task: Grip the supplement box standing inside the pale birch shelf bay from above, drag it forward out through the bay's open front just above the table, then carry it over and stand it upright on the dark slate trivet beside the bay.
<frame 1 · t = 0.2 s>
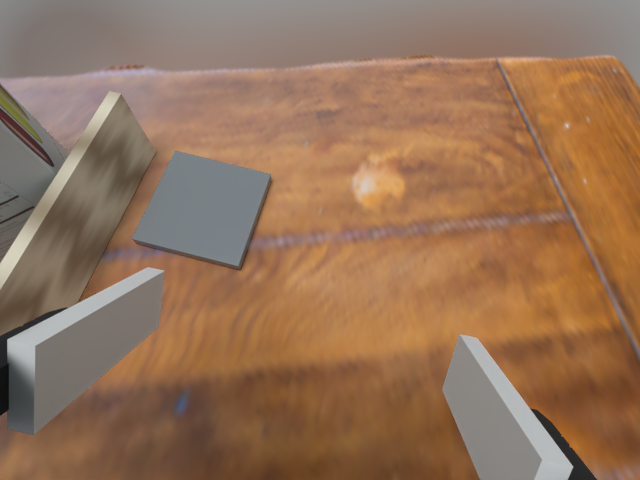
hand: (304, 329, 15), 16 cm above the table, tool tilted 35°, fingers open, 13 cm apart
slate trivet: (207, 210, 35), on the table
supplement box: (43, 209, 34), resting in shelf bay
shelf bay: (26, 231, 33), on the table
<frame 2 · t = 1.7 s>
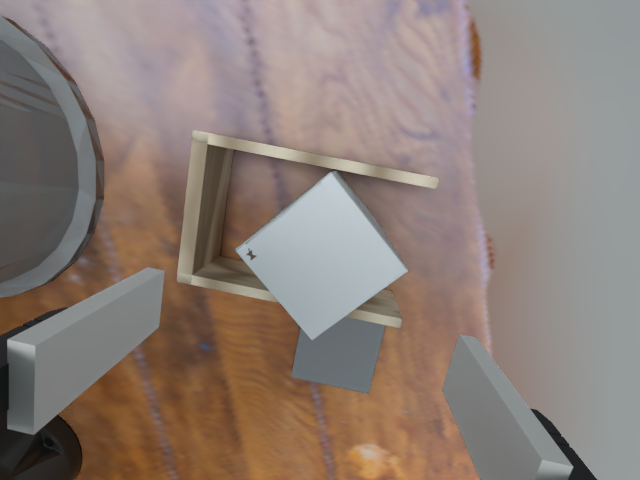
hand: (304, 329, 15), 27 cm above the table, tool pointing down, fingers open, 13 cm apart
slate trivet: (337, 345, 45), on the table
supplement box: (329, 224, 42), resting in shelf bay
shelf bay: (308, 220, 42), on the table
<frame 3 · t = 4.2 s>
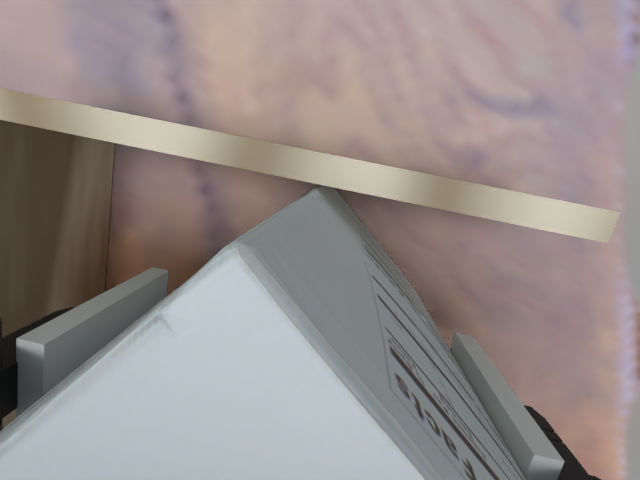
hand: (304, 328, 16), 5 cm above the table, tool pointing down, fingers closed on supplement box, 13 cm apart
supplement box: (314, 287, 21), resting in shelf bay, touching gripper
shelf bay: (271, 279, 21), on the table
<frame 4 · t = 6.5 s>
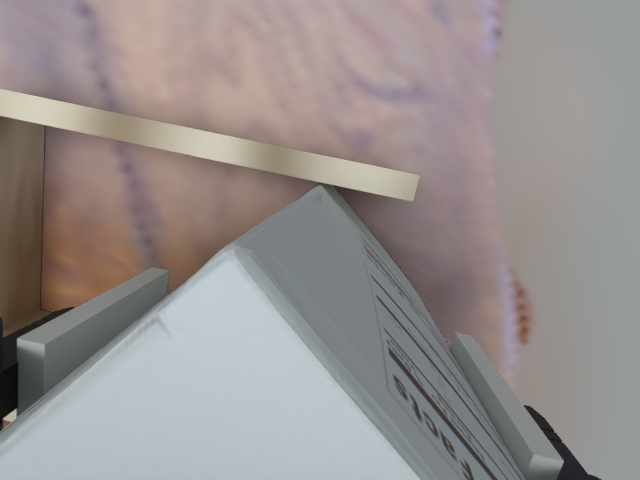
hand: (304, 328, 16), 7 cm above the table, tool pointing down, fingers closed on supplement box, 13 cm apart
supplement box: (314, 286, 21), point 2 cm above the table, touching gripper
shelf bay: (189, 251, 23), on the table
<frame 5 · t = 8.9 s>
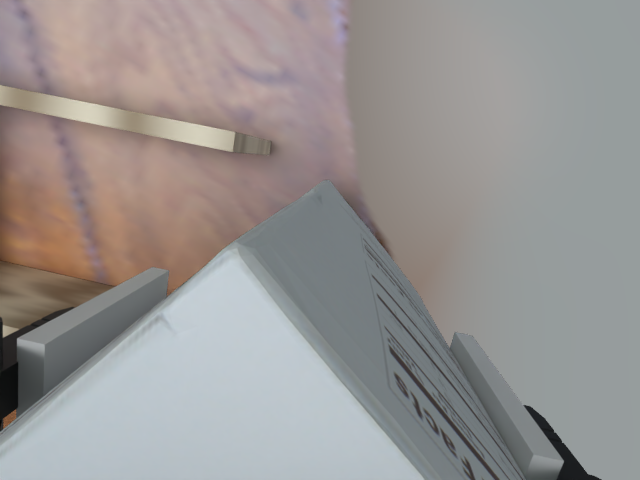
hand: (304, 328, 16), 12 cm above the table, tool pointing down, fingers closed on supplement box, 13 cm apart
supplement box: (314, 286, 21), point 6 cm above the table, touching gripper
shelf bay: (115, 209, 28), on the table
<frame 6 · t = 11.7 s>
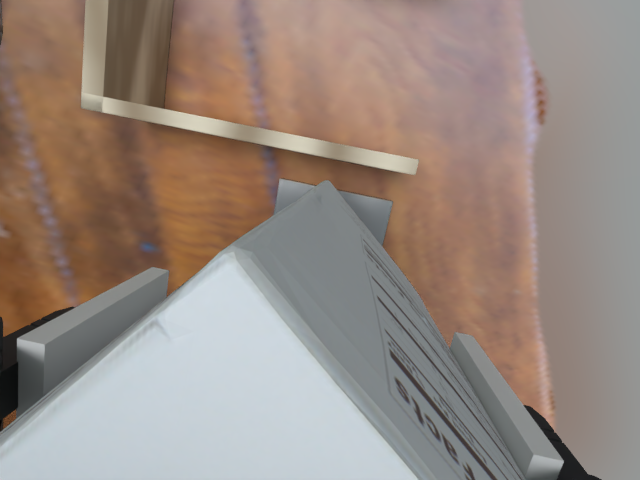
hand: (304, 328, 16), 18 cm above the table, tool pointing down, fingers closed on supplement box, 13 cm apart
slate trivet: (325, 242, 33), on the table
supplement box: (314, 287, 21), point 12 cm above the table, touching gripper
shelf bay: (285, 56, 30), on the table
when the fingers open (8 cm above the table, at t = 14.1 s): supplement box drops 1 cm, resting on slate trivet.
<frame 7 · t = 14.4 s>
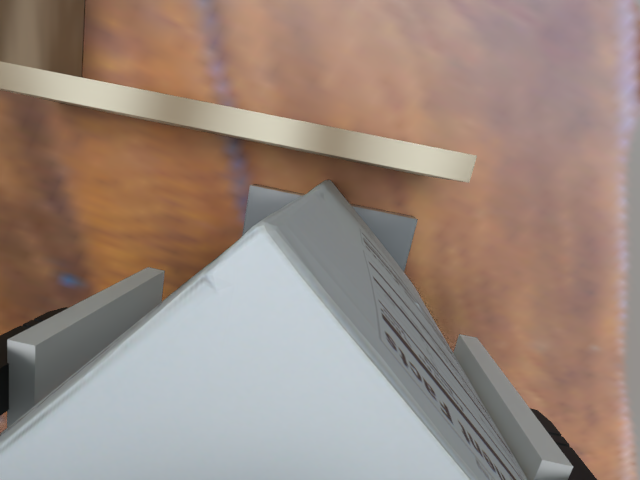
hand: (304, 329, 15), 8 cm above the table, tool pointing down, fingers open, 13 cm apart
slate trivet: (318, 275, 23), on the table
supplement box: (316, 281, 22), point 1 cm above the table, touching slate trivet
shelf bay: (256, 2, 20), on the table
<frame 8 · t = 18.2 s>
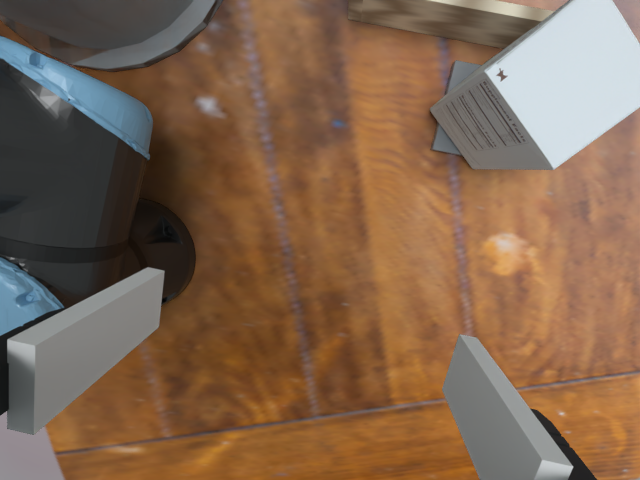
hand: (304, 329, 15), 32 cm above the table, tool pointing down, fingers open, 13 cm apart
slate trivet: (482, 115, 42), on the table
supplement box: (483, 114, 41), point 1 cm above the table, touching slate trivet
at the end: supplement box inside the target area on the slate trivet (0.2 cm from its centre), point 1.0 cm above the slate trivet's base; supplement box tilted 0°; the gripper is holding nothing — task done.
